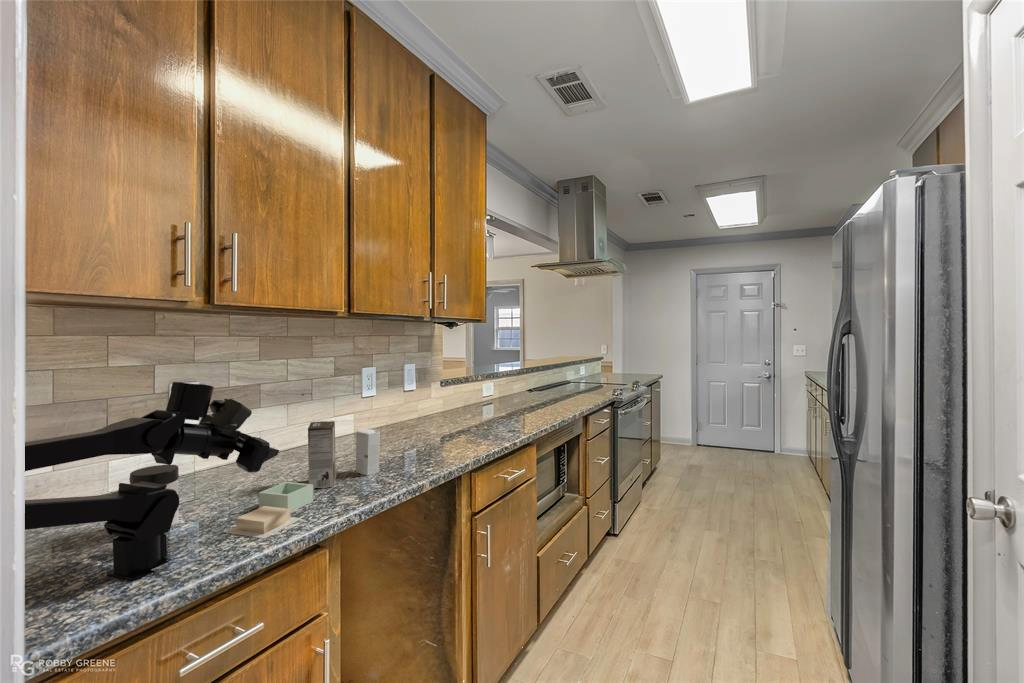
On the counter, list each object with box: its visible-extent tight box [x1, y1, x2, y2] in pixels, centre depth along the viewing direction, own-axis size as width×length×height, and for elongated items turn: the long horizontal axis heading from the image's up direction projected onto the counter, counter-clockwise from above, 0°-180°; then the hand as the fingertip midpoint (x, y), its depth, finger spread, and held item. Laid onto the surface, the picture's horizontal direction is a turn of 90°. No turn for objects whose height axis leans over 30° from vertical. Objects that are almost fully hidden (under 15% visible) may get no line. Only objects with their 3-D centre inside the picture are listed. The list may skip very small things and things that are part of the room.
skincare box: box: [355, 428, 381, 477], centre depth 134 cm, size 6×4×12 cm
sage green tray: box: [258, 481, 314, 513], centre depth 107 cm, size 8×8×4 cm
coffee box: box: [307, 420, 337, 490], centre depth 124 cm, size 9×6×16 cm
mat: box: [224, 516, 302, 539], centre depth 96 cm, size 10×10×1 cm
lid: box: [235, 506, 292, 534], centre depth 96 cm, size 7×7×2 cm
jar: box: [129, 464, 180, 526], centre depth 97 cm, size 9×8×12 cm
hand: (264, 445), depth 102 cm, fingers open, 9 cm apart
